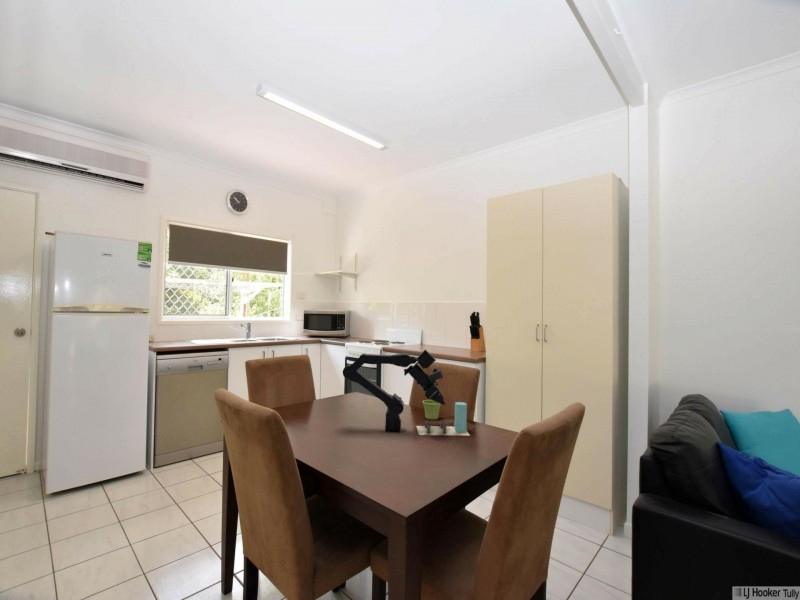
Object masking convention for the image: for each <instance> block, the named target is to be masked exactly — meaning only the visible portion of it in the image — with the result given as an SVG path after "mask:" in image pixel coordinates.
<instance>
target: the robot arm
mask: <svg viewBox="0 0 800 600" xmlns="http://www.w3.org/2000/svg"><path fill="white" fill-rule="evenodd" d="M436 361H437V359H436V358H435V357H434V355H432V354H431V353H430V352H429V351H427V349H424V350H423V351H422V353H420V354H419V355H418V356H412V355H410V354H409V353H407V352H402V353H396V354H374V353H373V354H372V353H371V354H370V353H369V354H368V353H362V354H360V356H359V357H358V358H356V360H355V361H353V363H350V364H347V365H346V366H345V367H344V368H343V370H342V376H343V377H344V378H345V379H347V380H349V381H351V382H353V383H356V384H358V385H360V386H361V387H362V388H364V389H365V390H366V391H368V392H369V393H371V394H372V395H373V396H374V397H376V398H377V399H379V400H380V401H382V403H384V405H385V406H386V407H387V408H386V412H385V420H384V421H385V422H384V423H385V426H384V432H385V433H400V432H401V429H402V419H401V417H400V415H401V414H402V413H403V412H404V409H405V403H404V401H403V398H402V397H400V396H398V395H397V393H395V392H394V393H393V395H392V394H389V393H388V392H387V391H385V390H384V389H383V388H381V387H380V386H379V385H377V384H376V383H375V382H374V381H372V380H371V379H369V378H368V377H367V376H366V375H364V373H362V371H361V370H360V369H361V367H362V366H363V365H364V364H381V365H382V364H385V365H393V366H396V367H399V368H404V369H403V372H404V374H403V375H404V376H407V375H408V374H409V375H410V376H411V378H412V379H413V380H414V381H415V382H416V384H417V385H419V386H420V387H421V388H422V390H423V391H424V396H425V398H426V399H428V400H433V401H436V402H438V403H440V404H441V406H442V405H443V406H445V405H446V402H445V400H444V399H445V398H444V397H445V396H443V394H442V393H441V391H440V389H439V387H438V385H439V384H438V381H437V380H440V379H441V380H442V379H443V378H444V375H443V373H442V371H441V369H437V368H433V369H432V372H430V373H428V372H426V371H425V370H424V369H429V368H430V367H431V366H432V365H433V364H434V363H435V362H436Z"/></svg>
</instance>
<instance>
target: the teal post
mask: <svg viewBox="0 0 800 600" xmlns="http://www.w3.org/2000/svg"><path fill="white" fill-rule="evenodd" d="M467 410H468V404H467V403H466V402H463V401H461V402H460V401H457V402H454V423H453V427H454V429H455V431H456V432H466V430H467V421H468V420H467Z"/></svg>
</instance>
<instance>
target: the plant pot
mask: <svg viewBox="0 0 800 600" xmlns="http://www.w3.org/2000/svg"><path fill="white" fill-rule="evenodd" d="M422 404H423V407H424V416H425V419H427V420H438V419H439V416H440V415H439V414H440V410H441V409H440V408H441V406H442V404H440V403H438V402H436V401H433V400H431V399H424V400H422Z"/></svg>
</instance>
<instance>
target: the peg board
mask: <svg viewBox="0 0 800 600" xmlns="http://www.w3.org/2000/svg"><path fill="white" fill-rule="evenodd" d="M424 423H425V425H415V427H416V429H417V433H418V435H419V436H469V437H470V435H471V434H470V433H469V432H468V430H467V429H466V432H456V431H455V429H454V425H453V426H451V425H450V426H447V425H445V424H444V423H445V422H444V420H440V425H439V426H438V425H436V426H435V425H429V420H425V421H424Z"/></svg>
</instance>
